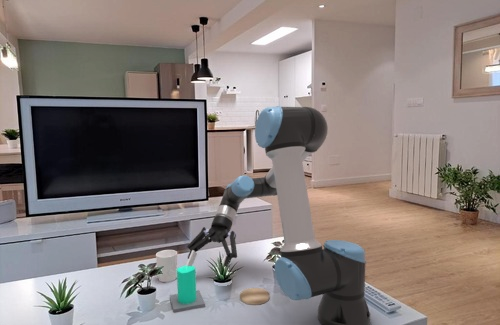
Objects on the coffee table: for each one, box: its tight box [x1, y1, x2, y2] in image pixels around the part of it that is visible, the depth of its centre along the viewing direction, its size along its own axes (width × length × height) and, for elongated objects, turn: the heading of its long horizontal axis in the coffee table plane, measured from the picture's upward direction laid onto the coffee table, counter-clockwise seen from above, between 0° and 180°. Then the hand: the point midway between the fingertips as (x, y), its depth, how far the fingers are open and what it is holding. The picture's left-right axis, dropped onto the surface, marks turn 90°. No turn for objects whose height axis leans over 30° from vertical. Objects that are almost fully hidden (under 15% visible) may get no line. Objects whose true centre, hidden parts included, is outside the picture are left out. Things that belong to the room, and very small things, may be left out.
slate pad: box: [169, 289, 206, 313], centre depth 116 cm, size 10×10×1 cm
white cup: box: [155, 249, 178, 283], centre depth 134 cm, size 8×8×10 cm
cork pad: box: [239, 287, 270, 306], centre depth 119 cm, size 10×10×1 cm
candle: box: [176, 264, 197, 304], centre depth 116 cm, size 6×6×12 cm
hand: (203, 271), depth 125 cm, fingers open, 13 cm apart
